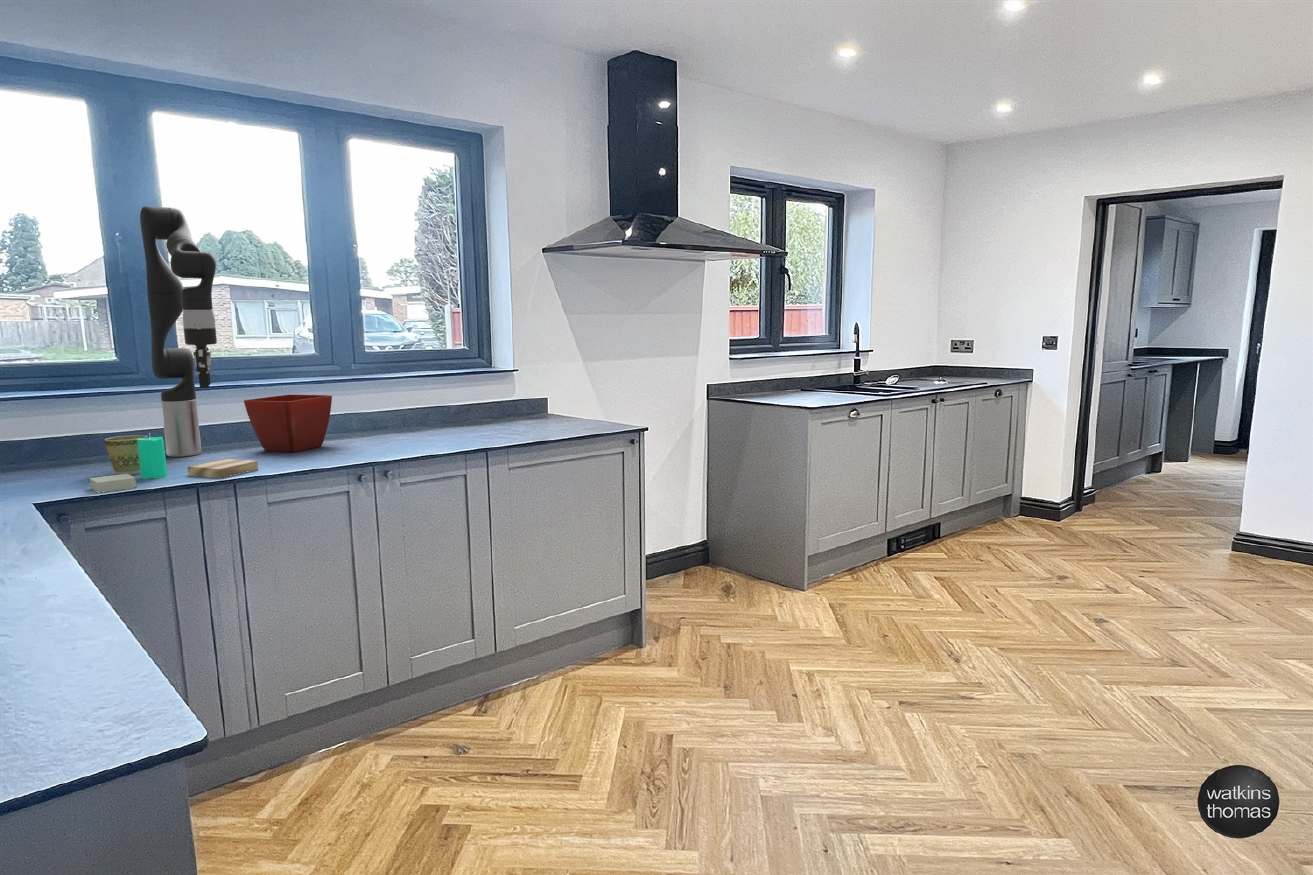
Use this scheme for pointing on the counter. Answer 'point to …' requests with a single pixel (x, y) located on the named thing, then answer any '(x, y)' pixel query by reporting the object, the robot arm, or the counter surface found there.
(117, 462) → the ceramic cup
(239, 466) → the oak block
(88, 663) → the counter surface
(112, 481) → the sage block
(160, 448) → the candle
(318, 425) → the plant pot
